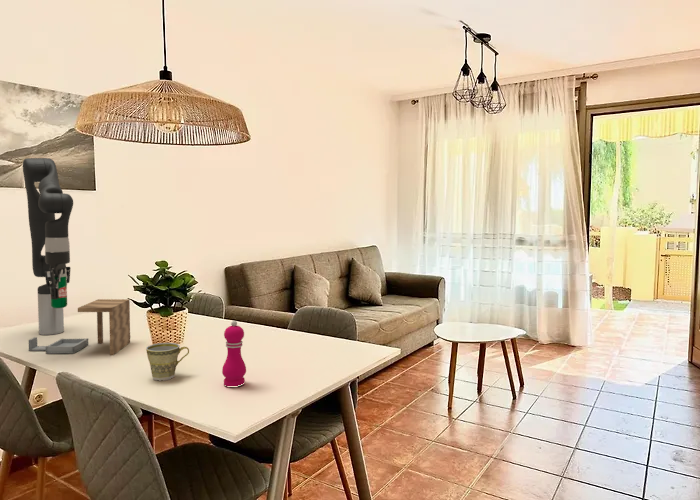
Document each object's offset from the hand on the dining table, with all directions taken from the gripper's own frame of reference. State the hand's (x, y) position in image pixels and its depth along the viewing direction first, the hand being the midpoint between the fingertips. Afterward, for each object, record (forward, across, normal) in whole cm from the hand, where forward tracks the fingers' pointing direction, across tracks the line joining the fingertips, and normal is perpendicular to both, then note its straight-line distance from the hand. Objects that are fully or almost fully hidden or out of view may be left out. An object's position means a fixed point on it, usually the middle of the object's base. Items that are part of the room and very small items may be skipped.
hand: (58, 297), depth 180 cm
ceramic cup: (+21, +23, +44) cm, 54 cm away
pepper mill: (+21, +32, +66) cm, 76 cm away
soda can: (+4, 0, 0) cm, 4 cm away
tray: (+22, -10, -6) cm, 24 cm away
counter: (+22, -11, +12) cm, 27 cm away
